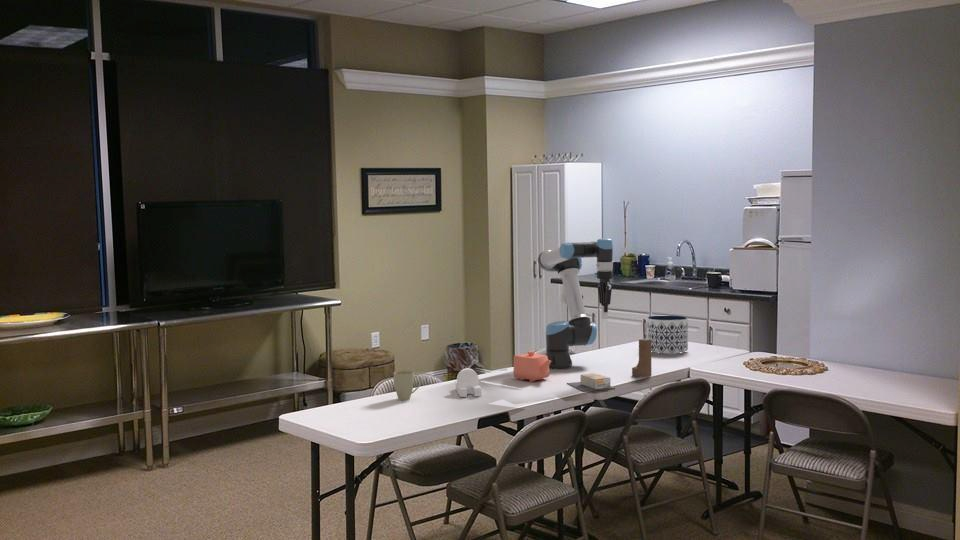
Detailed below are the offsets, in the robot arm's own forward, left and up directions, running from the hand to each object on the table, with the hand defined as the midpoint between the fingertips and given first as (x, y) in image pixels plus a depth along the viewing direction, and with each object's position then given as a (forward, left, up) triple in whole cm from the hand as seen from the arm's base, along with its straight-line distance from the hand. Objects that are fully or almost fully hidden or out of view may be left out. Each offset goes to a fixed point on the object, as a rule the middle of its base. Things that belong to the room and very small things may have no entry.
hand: (604, 318), depth 423 cm
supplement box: (+16, -17, -26) cm, 34 cm away
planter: (-48, +63, -29) cm, 84 cm away
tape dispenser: (+9, -73, -29) cm, 79 cm away
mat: (+20, -17, -29) cm, 39 cm away
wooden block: (+7, +16, -29) cm, 34 cm away
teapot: (-4, -37, -29) cm, 47 cm away
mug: (+14, -103, -29) cm, 108 cm away
